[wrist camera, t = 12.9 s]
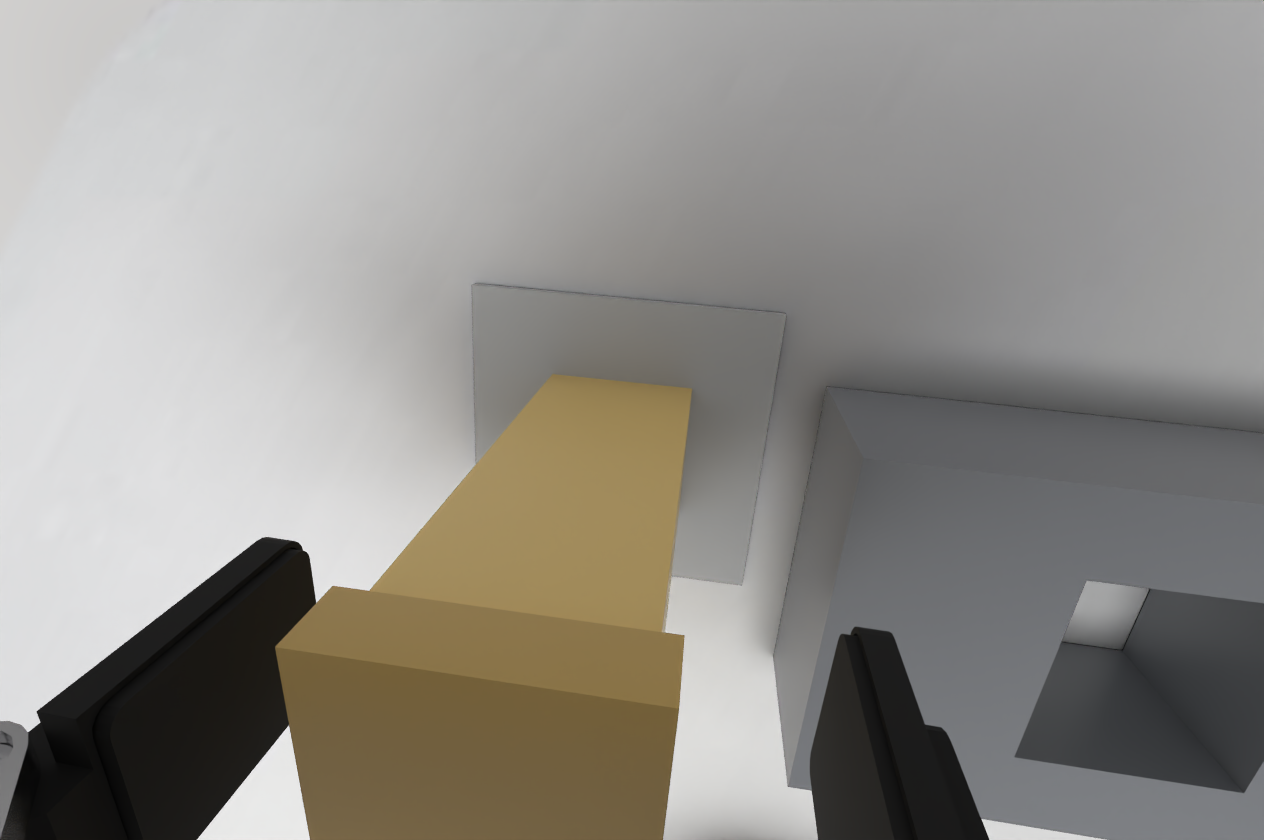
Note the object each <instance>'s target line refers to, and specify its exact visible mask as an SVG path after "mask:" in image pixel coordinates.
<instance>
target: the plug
mask: <svg viewBox="0 0 1264 840" xmlns="http://www.w3.org/2000/svg"><path fill="white" fill-rule="evenodd" d="M691 395H692V388H683V387H673V386H663V385H654V384H644V383H634V382H625V381H615V380H605V379H596V378H586V377H576V376H567V375H557V374H552V375H551V376H550V377H549V379H548V380H547V381H546V382H545V383H544V385H543V386H542V387H541V388H540V389H539V391H538V392H537V393H536V394H535V395H534V396H533V398H532V399H531V400H530V401H529V402H528V404H527V405H526V406H525V407H524V408H523V409H522V411H521V412H520V413H519V414H518V415H517V417H516V418H515V419H514V420H513V421H512V422H511V424H510V425H509V426H508V427H507V428H506V430H505V431H504V432H503V433H502V434H501V436H500V437H499V438H498V439H497V440H496V441H495V443H494V444H493V445H492V446H491V447H490V449H489V450H488V451H487V452H486V453H485V454H484V456H483V457H482V458H481V459H480V460H479V462H478V463H477V464H476V465H475V466H474V467H473V469H472V470H471V471H470V472H469V473H468V475H467V476H466V477H465V478H464V479H463V481H462V482H461V483H460V484H459V485H458V486H457V488H456V489H455V490H454V491H453V492H452V494H451V495H450V496H449V497H448V498H447V499H446V501H445V502H444V503H443V504H442V505H441V507H440V508H439V509H438V510H437V511H436V512H435V514H434V515H433V516H432V517H431V518H430V520H429V521H428V522H427V523H426V524H425V526H424V527H423V528H422V529H421V530H420V531H419V533H418V534H417V535H416V536H415V537H414V539H413V540H412V541H411V542H410V543H409V544H408V546H407V547H406V548H405V549H404V550H403V552H402V553H401V554H400V555H399V556H398V557H397V559H396V560H395V561H394V562H393V563H392V565H391V566H390V567H389V568H388V569H387V571H386V572H385V573H384V574H383V575H382V576H381V578H380V579H379V580H378V581H377V582H376V584H375V585H374V586H373V587H372V588H371V589H370V591H366V590H358V589H351V588H344V587H337V586H332V587H331V588H330V589H329V590H328V591H327V593H326V594H325V595H324V596H323V597H322V598H321V599H320V600H319V601H318V602H317V603H316V604H315V605H314V606H313V607H312V608H311V609H310V611H309V612H308V613H307V614H306V615H305V616H304V617H303V618H302V619H301V620H300V621H299V622H298V623H297V624H296V625H295V626H294V627H293V629H292V630H291V631H290V632H289V633H288V634H287V635H286V636H285V637H284V638H283V639H282V640H281V641H280V642H279V643H278V644H277V645H276V647H275V650H276V655H277V661H278V666H279V672H280V677H281V683H282V688H283V694H284V699H285V705H286V710H287V716H288V721H289V727H290V732H291V738H292V743H293V748H294V754H295V759H296V765H297V770H298V776H299V781H300V787H301V792H302V798H303V803H304V809H305V814H306V820H307V825H308V831H309V836H310V840H663V834H664V826H665V818H666V810H667V802H668V794H669V786H670V778H671V769H672V761H673V753H674V745H675V737H676V729H677V721H678V713H679V702H680V689H681V675H682V662H683V648H684V635H677V634H670V633H665V626H666V618H667V609H668V601H669V592H670V584H671V575H672V567H673V558H674V550H675V542H676V533H677V525H678V516H679V507H680V498H681V488H682V479H683V470H684V460H685V451H686V442H687V432H688V423H689V414H690V404H691Z"/></svg>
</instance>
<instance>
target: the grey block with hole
mask: <svg viewBox="0 0 1264 840" xmlns="http://www.w3.org/2000/svg"><path fill="white" fill-rule="evenodd" d="M1086 580H1088V581H1096V582H1103V583H1111V584H1119V585H1127V586H1134V587H1142V588H1150V589H1151V590H1150V592H1149V594H1148V596H1147V598H1146V601H1145V603H1144V605H1143V607H1142V609H1141V612H1140V614H1139V616H1138V618H1137V620H1136V623H1135V625H1134V627H1133V629H1132V631H1131V633H1130V636H1129V638H1128V640H1127V642H1126V644H1125V647H1124V649H1123V651H1120V650H1113V649H1106V648H1099V647H1092V646H1084V645H1077V644H1070V643H1063V642H1062V639H1063V637H1064V634H1065V632H1066V629H1067V627H1068V624H1069V622H1070V619H1071V617H1072V615H1073V612H1074V610H1075V607H1076V605H1077V602H1078V600H1079V597H1080V595H1081V593H1082V590H1083V588H1084V585H1085V583H1086ZM854 627H863V628H869V629H876V630H882V631H889V632H891V633H892V634H893V636H894V638H895V641H896V644H897V646H898V649H899V652H900V655H901V658H902V661H903V663H904V666H905V669H906V672H907V675H908V678H909V681H910V683H911V686H912V689H913V692H914V695H915V698H916V700H917V703H918V706H919V709H920V712H921V715H922V717H923V720H924V723H925V725H931V726H937V727H942V728H943V729H944V730H945V731H946V732H947V734H948V736H949V738H950V740H951V742H952V745H953V748H954V750H955V753H956V755H957V758H958V760H959V763H960V766H961V768H962V771H963V773H964V776H965V778H966V781H967V784H968V786H969V789H970V791H971V794H972V797H973V799H974V802H975V804H976V807H977V809H978V812H979V815H980V817H981V819H986V820H992V821H998V822H1004V823H1010V824H1016V825H1022V826H1028V827H1034V828H1040V829H1046V830H1052V831H1058V832H1064V833H1071V834H1077V835H1083V836H1089V837H1095V838H1101V839H1107V840H1264V433H1259V432H1249V431H1240V430H1230V429H1221V428H1212V427H1202V426H1193V425H1183V424H1174V423H1165V422H1155V421H1146V420H1136V419H1127V418H1118V417H1108V416H1099V415H1089V414H1080V413H1071V412H1061V411H1052V410H1042V409H1033V408H1024V407H1014V406H1005V405H995V404H986V403H977V402H967V401H958V400H948V399H939V398H930V397H920V396H911V395H901V394H892V393H883V392H873V391H864V390H855V389H845V388H836V387H826V392H825V397H824V402H823V407H822V412H821V417H820V422H819V428H818V433H817V438H816V443H815V448H814V453H813V458H812V463H811V468H810V473H809V478H808V483H807V488H806V494H805V499H804V504H803V509H802V514H801V519H800V524H799V529H798V534H797V539H796V544H795V549H794V555H793V560H792V565H791V570H790V575H789V580H788V585H787V590H786V595H785V600H784V605H783V610H782V615H781V621H780V626H779V631H778V636H777V641H776V646H775V651H774V656H773V660H774V669H775V678H776V687H777V695H778V704H779V713H780V722H781V731H782V739H783V748H784V757H785V766H786V775H787V784H788V787H793V788H799V789H805V790H811V791H812V788H811V780H810V754H811V749H812V745H813V741H814V737H815V733H816V728H817V724H818V720H819V716H820V712H821V708H822V704H823V700H824V696H825V692H826V688H827V684H828V679H829V675H830V671H831V667H832V663H833V659H834V655H835V651H836V647H837V643H838V639H839V636H840V635H841V634H848V635H851V632H852V629H853V628H854Z"/></svg>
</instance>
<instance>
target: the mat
mask: <svg viewBox="0 0 1264 840" xmlns="http://www.w3.org/2000/svg"><path fill="white" fill-rule="evenodd" d="M785 321H786V313H778V312H767V311H757V310H747V309H736V308H726V307H715V306H705V305H695V304H684V303H674V302H663V301H653V300H643V299H632V298H622V297H611V296H601V295H591V294H580V293H570V292H560V291H549V290H539V289H528V288H518V287H508V286H497V285H487V284H476V283H475V284H473V285H472V322H473V365H474V408H475V451H476V464H477V463H478V462H479V460H480V459H481V458H482V457H483V456H484V454H485V453H486V452H487V451H488V450H489V449H490V447H491V446H492V445H493V444H494V443H495V441H496V440H497V439H498V438H499V437H500V436H501V434H502V433H503V432H504V431H505V430H506V428H507V427H508V426H509V425H510V424H511V422H512V421H513V420H514V419H515V418H516V417H517V415H518V414H519V413H520V412H521V411H522V409H523V408H524V407H525V406H526V405H527V404H528V402H529V401H530V400H531V399H532V398H533V396H534V395H535V394H536V393H537V392H538V391H539V389H540V388H541V387H542V386H543V385H544V383H545V382H546V381H547V380H548V379H549V377H550V376H551V375H552V374H557V375H567V376H576V377H586V378H596V379H605V380H615V381H625V382H634V383H644V384H654V385H663V386H673V387H683V388H692V395H691V404H690V414H689V423H688V432H687V442H686V451H685V460H684V470H683V479H682V488H681V498H680V507H679V516H678V525H677V533H676V542H675V550H674V558H673V567H672V575H671V576H675V577H683V578H690V579H697V580H704V581H712V582H719V583H726V584H734V585H741V586H742V583H743V577H744V571H745V564H746V558H747V552H748V546H749V540H750V534H751V528H752V522H753V516H754V510H755V504H756V498H757V491H758V485H759V479H760V473H761V467H762V461H763V455H764V449H765V443H766V437H767V431H768V425H769V419H770V412H771V406H772V400H773V394H774V388H775V382H776V376H777V370H778V364H779V358H780V352H781V346H782V340H783V333H784V327H785Z"/></svg>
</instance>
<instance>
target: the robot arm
mask: <svg viewBox="0 0 1264 840" xmlns="http://www.w3.org/2000/svg"><path fill="white" fill-rule="evenodd" d="M315 604H316V599H315V592H314V585H313V578H312V571H311V564H310V558H309V555H308V554H307V552H305V551H303V549H302V546H301V545H300V544H299V543H298V542H295V541H290V540H283V539H277V538H270V537H265V538H261V539H260V540H258V541H256V542H255V543H254V544H252V545H251V546H250V547H249V548H247V549H246V550H245V551H243V552H242V553H241V554H240V555H238V556H237V557H236V558H234V559H233V560H232V561H230V562H229V563H228V564H227V565H225V566H224V567H223V568H221V569H220V570H219V571H218V572H216V573H215V574H214V575H212V576H211V577H210V578H208V579H207V580H206V581H205V582H203V583H202V584H201V585H199V586H198V587H197V588H196V589H194V590H193V591H192V592H190V593H189V594H188V595H187V596H185V597H184V598H183V599H181V600H180V601H179V602H177V603H176V604H175V605H174V606H172V607H171V608H170V609H168V610H167V611H166V612H165V613H163V614H162V615H161V616H159V617H158V618H157V619H155V620H154V621H153V622H152V623H150V624H149V625H148V626H146V627H145V628H144V629H143V630H141V631H140V632H139V633H137V634H136V635H135V636H134V637H132V638H131V639H130V640H128V641H127V642H126V643H124V644H123V645H122V646H121V647H119V648H118V649H117V650H115V651H114V652H113V653H112V654H110V655H109V656H108V657H106V658H105V659H104V660H102V661H101V662H100V663H99V664H97V665H96V666H95V667H93V668H92V669H91V670H90V671H88V672H87V673H86V674H84V675H83V676H82V677H81V678H79V679H78V680H77V681H75V682H74V683H73V684H71V685H70V686H69V687H68V688H66V689H65V690H64V691H62V692H61V693H60V694H59V695H57V696H56V697H55V698H53V699H52V700H51V701H49V702H48V703H47V704H46V705H44V706H43V707H42V708H40V709H39V710H38V711H37V714H38V716H39V719H40V722H41V723H39V724H38V725H37V726H36V727H34V728H33V729H32V730H31V731H29V732H27V731H26V730H25V729H24V727H23V726H22V725H20V724H16V723H13V722H10V721H0V840H197V839H198V837H199V836H200V835H201V834H202V832H203V831H204V830H205V829H206V827H207V826H208V825H209V824H210V822H211V821H212V820H213V819H214V817H215V816H216V815H217V814H218V813H219V811H220V810H221V809H222V808H223V806H224V805H225V804H226V803H227V801H228V800H229V799H230V798H231V796H232V795H233V794H234V793H235V791H236V790H237V789H238V788H239V786H240V785H241V784H242V783H243V781H244V780H245V779H246V778H247V776H248V775H249V774H250V773H251V771H252V770H253V769H254V768H255V766H256V765H257V764H258V763H259V761H260V760H261V759H262V758H263V756H264V755H265V754H266V753H267V751H268V750H269V749H270V748H271V747H272V745H273V744H274V743H275V742H276V740H277V739H278V738H279V737H280V735H281V734H282V733H283V732H284V730H285V729H286V728H287V727H288V725H289V721H288V716H287V710H286V705H285V699H284V694H283V688H282V683H281V677H280V672H279V666H278V661H277V655H276V650H275V647H276V645H277V644H278V643H279V642H280V641H281V640H282V639H283V638H284V637H285V636H286V635H287V634H288V633H289V632H290V631H291V630H292V629H293V627H294V626H295V625H296V624H297V623H298V622H299V621H300V620H301V619H302V618H303V617H304V616H305V615H306V614H307V613H308V612H309V611H310V609H311V608H312V607H313V606H314V605H315ZM810 780H811V788H812V795H813V803H814V811H815V818H816V826H817V833H818V840H989V838H988V835H987V833H986V830H985V827H984V825H983V822H982V820H981V817H980V815H979V812H978V809H977V807H976V804H975V802H974V799H973V797H972V794H971V791H970V789H969V786H968V784H967V781H966V778H965V776H964V773H963V771H962V768H961V766H960V763H959V760H958V758H957V755H956V753H955V750H954V748H953V745H952V742H951V740H950V738H949V736H948V734H947V732H946V731H945V730H944V729H943V728H942V727H937V726H931V725H925V723H924V720H923V717H922V715H921V712H920V709H919V706H918V703H917V700H916V698H915V695H914V692H913V689H912V686H911V683H910V681H909V678H908V675H907V672H906V669H905V666H904V663H903V661H902V658H901V655H900V652H899V649H898V646H897V644H896V641H895V638H894V636H893V634H892V633H891V632H889V631H882V630H876V629H869V628H863V627H854V628H853V629H852V632H851V635H848V634H841V635H840V636H839V639H838V643H837V647H836V651H835V655H834V659H833V663H832V667H831V671H830V675H829V679H828V684H827V688H826V692H825V696H824V700H823V704H822V708H821V712H820V716H819V720H818V724H817V728H816V733H815V737H814V741H813V745H812V749H811V754H810Z"/></svg>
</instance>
